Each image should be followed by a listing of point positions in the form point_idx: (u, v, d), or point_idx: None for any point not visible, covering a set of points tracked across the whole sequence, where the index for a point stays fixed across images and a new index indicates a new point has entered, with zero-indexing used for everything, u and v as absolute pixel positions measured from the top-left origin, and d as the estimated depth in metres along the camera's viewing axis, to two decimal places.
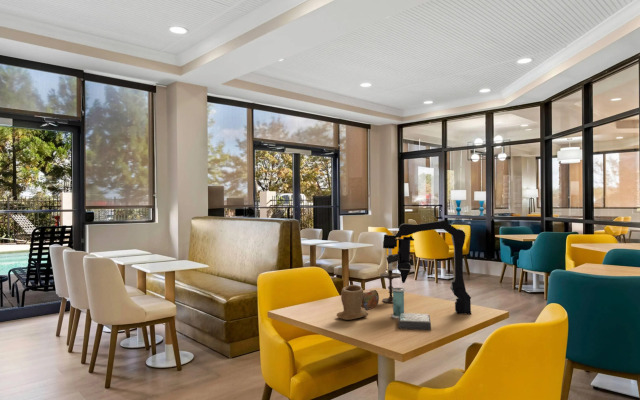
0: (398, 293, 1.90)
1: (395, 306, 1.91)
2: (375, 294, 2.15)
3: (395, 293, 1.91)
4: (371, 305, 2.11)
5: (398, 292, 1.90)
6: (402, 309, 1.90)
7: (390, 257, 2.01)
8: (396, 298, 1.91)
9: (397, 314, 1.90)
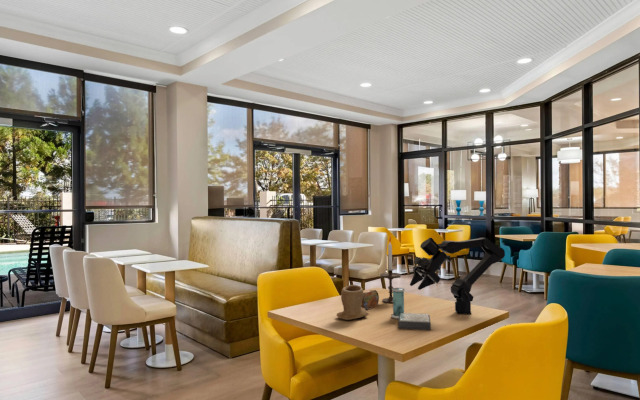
0: (398, 293, 1.90)
1: (395, 306, 1.91)
2: (375, 294, 2.15)
3: (395, 293, 1.91)
4: (371, 305, 2.11)
5: (398, 292, 1.90)
6: (402, 309, 1.90)
7: (425, 260, 1.91)
8: (396, 298, 1.91)
9: (397, 314, 1.90)
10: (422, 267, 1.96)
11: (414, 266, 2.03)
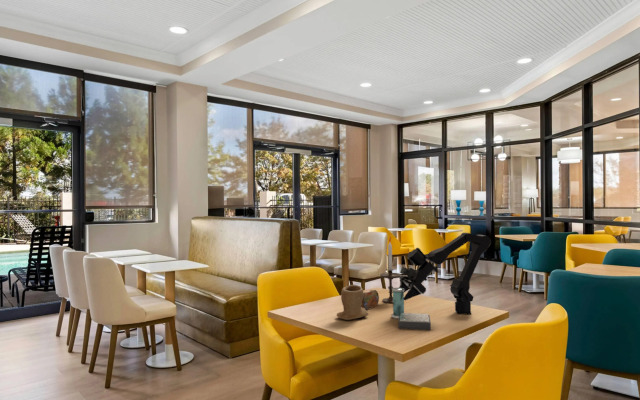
0: (398, 293, 1.90)
1: (395, 306, 1.91)
2: (375, 294, 2.15)
3: (395, 293, 1.91)
4: (371, 305, 2.11)
5: (398, 292, 1.90)
6: (402, 309, 1.90)
7: (411, 270, 1.89)
8: (396, 298, 1.91)
9: (397, 314, 1.90)
10: (408, 277, 1.95)
11: (401, 276, 2.02)
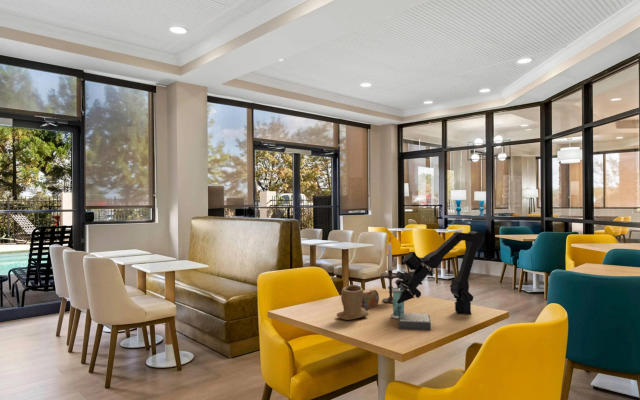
0: (398, 293, 1.90)
1: (395, 306, 1.91)
2: (375, 294, 2.15)
3: (395, 293, 1.91)
4: (371, 305, 2.11)
5: (398, 292, 1.90)
6: (402, 309, 1.90)
7: (406, 274, 1.89)
8: (396, 298, 1.91)
9: (397, 314, 1.90)
10: (404, 281, 1.94)
11: (396, 280, 2.01)
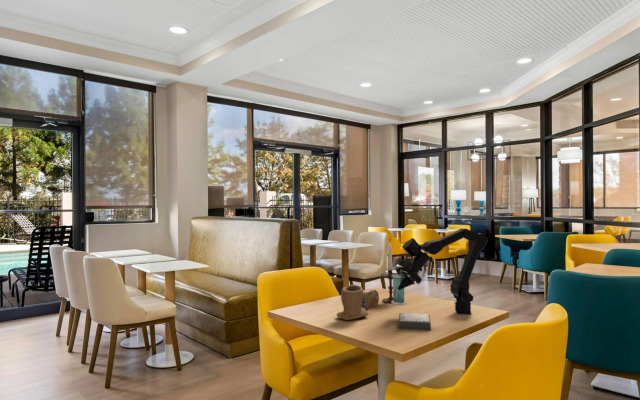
0: (398, 279, 1.90)
1: (395, 292, 1.90)
2: (375, 294, 2.15)
3: (395, 279, 1.90)
4: (371, 305, 2.11)
5: (398, 278, 1.90)
6: (402, 295, 1.90)
7: (406, 261, 1.89)
8: (396, 284, 1.90)
9: (397, 300, 1.90)
10: (404, 268, 1.94)
11: (396, 267, 2.01)
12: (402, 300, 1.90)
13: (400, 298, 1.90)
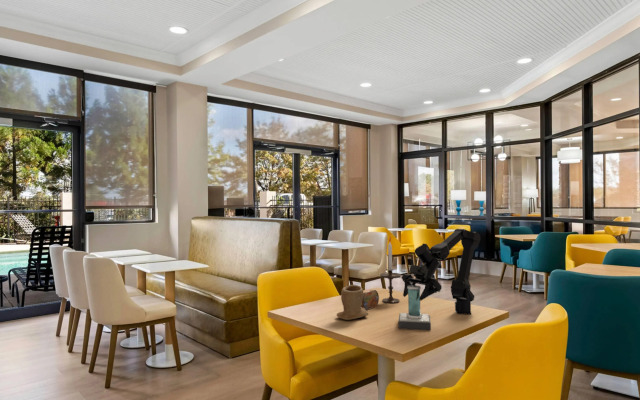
0: (416, 291, 1.77)
1: (413, 305, 1.77)
2: (375, 294, 2.15)
3: (413, 291, 1.77)
4: (371, 305, 2.11)
5: (416, 290, 1.77)
6: (419, 308, 1.78)
7: (424, 268, 1.77)
8: (414, 296, 1.77)
9: (415, 314, 1.77)
10: (417, 276, 1.82)
11: (403, 275, 1.88)
12: (419, 313, 1.78)
13: (418, 311, 1.77)
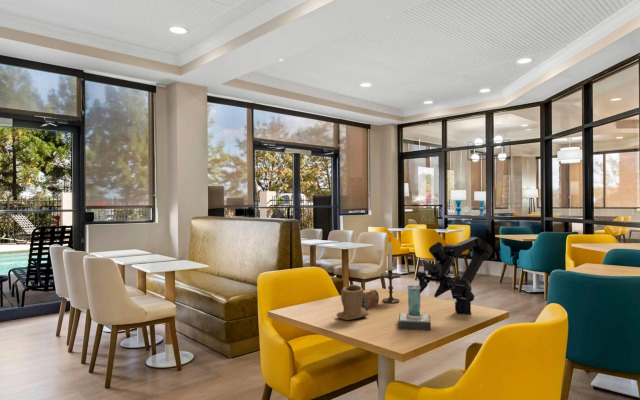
0: (416, 291, 1.77)
1: (413, 305, 1.77)
2: (375, 294, 2.15)
3: (413, 291, 1.77)
4: (371, 305, 2.11)
5: (416, 290, 1.77)
6: (419, 308, 1.78)
7: (439, 266, 1.83)
8: (414, 296, 1.77)
9: (415, 314, 1.77)
10: (431, 273, 1.88)
11: (417, 272, 1.93)
12: (419, 313, 1.78)
13: (418, 311, 1.77)
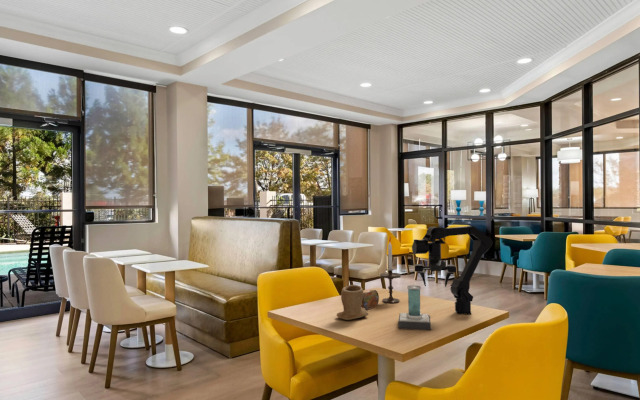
0: (416, 291, 1.77)
1: (413, 305, 1.77)
2: (375, 294, 2.15)
3: (413, 291, 1.77)
4: (371, 305, 2.11)
5: (416, 290, 1.77)
6: (419, 308, 1.78)
7: None
8: (414, 296, 1.77)
9: (415, 314, 1.77)
10: None
11: (416, 268, 1.96)
12: (419, 313, 1.78)
13: (418, 311, 1.77)
